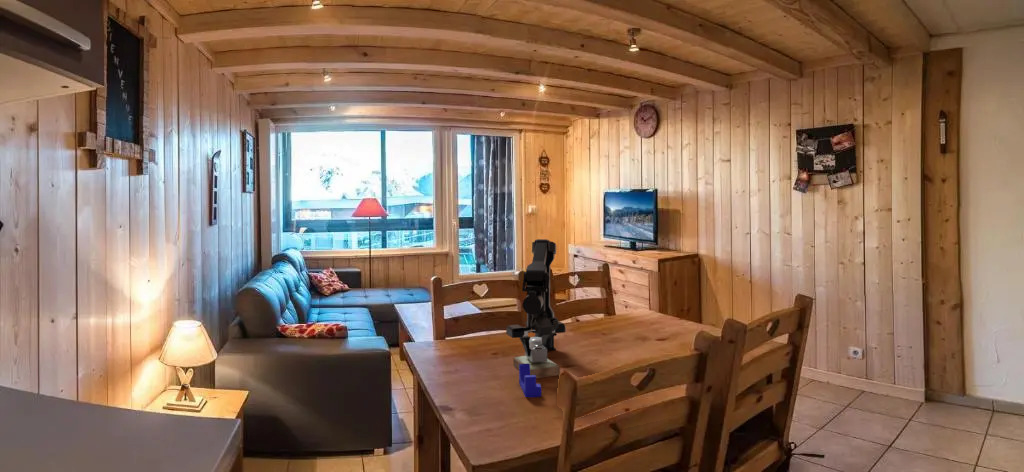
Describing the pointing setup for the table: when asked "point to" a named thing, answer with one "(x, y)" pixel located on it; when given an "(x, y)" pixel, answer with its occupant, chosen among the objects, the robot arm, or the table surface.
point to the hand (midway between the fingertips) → (536, 355)
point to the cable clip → (528, 382)
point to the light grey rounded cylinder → (535, 339)
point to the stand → (538, 367)
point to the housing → (537, 352)
